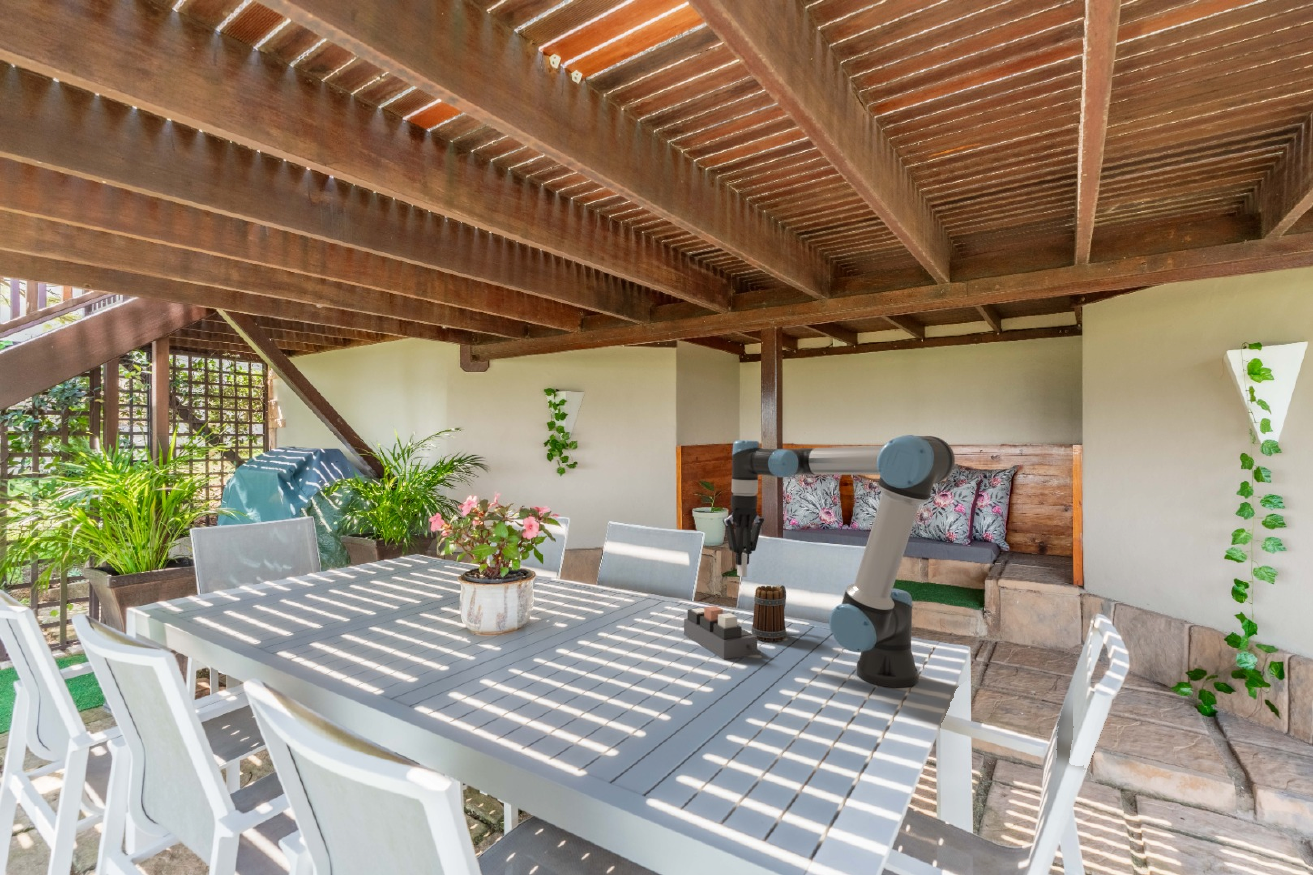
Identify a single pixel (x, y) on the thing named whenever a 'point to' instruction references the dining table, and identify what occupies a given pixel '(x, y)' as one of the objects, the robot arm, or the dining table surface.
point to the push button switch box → (720, 637)
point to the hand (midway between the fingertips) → (741, 575)
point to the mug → (769, 613)
